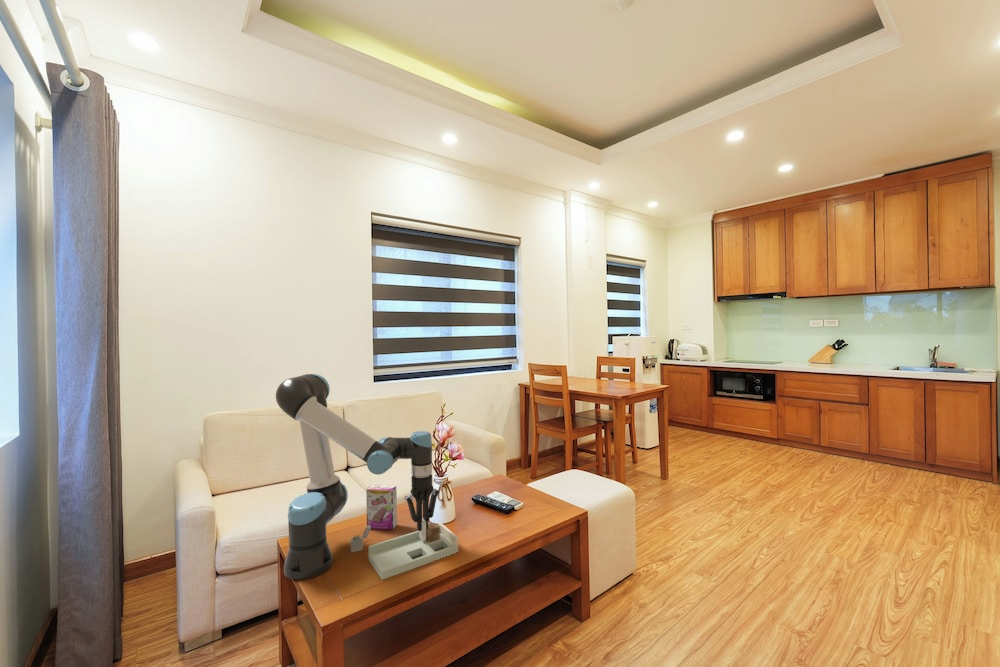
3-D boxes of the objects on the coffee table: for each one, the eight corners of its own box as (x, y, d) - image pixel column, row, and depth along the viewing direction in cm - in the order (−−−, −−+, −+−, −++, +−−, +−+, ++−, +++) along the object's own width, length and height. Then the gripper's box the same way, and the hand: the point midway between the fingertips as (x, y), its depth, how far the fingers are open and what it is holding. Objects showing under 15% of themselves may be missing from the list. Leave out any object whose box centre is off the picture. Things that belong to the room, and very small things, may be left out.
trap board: (382, 579, 136) (381, 563, 136) (368, 560, 148) (368, 544, 147) (458, 552, 152) (458, 537, 152) (440, 536, 163) (440, 522, 163)
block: (428, 542, 154) (428, 530, 154) (423, 537, 158) (423, 525, 157) (439, 539, 156) (439, 527, 156) (434, 534, 160) (434, 522, 160)
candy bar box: (366, 529, 170) (365, 489, 169) (371, 523, 175) (370, 484, 174) (393, 530, 169) (392, 490, 168) (397, 524, 174) (396, 485, 173)
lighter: (351, 552, 153) (350, 530, 152) (350, 550, 154) (350, 528, 154) (371, 547, 156) (371, 526, 156) (370, 545, 157) (370, 524, 157)
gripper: (409, 481, 148) (410, 548, 148) (442, 473, 155) (443, 537, 156) (401, 475, 154) (402, 539, 154) (433, 468, 161) (434, 529, 162)
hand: (422, 538), depth 155 cm, fingers closed
